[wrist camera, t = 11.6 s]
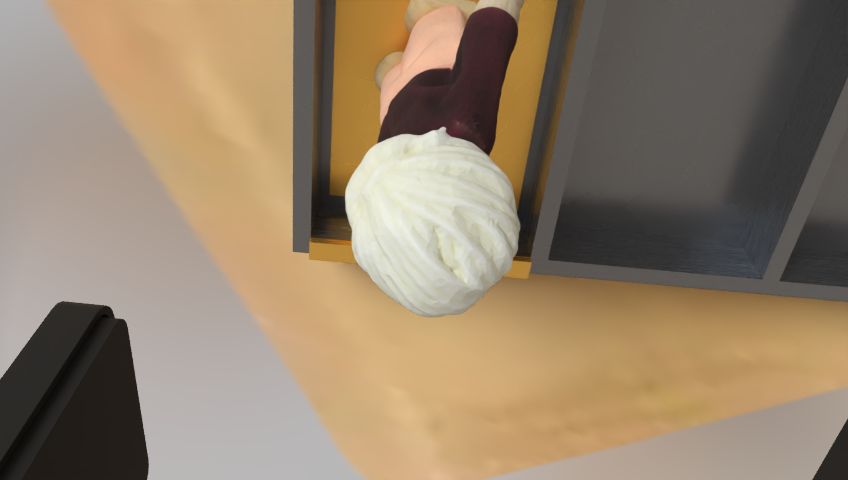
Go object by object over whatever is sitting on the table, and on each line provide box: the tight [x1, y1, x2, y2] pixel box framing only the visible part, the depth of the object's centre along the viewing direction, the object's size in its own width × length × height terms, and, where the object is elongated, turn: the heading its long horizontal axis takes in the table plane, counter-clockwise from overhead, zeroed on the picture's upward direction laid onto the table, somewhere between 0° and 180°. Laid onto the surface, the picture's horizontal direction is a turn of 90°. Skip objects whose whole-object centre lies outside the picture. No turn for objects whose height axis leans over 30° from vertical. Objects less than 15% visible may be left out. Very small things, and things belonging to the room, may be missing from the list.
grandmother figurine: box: [345, 0, 525, 317], centre depth 18 cm, size 8×4×13 cm, turn 161°
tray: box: [293, 0, 848, 302], centre depth 23 cm, size 25×14×3 cm, turn 84°
